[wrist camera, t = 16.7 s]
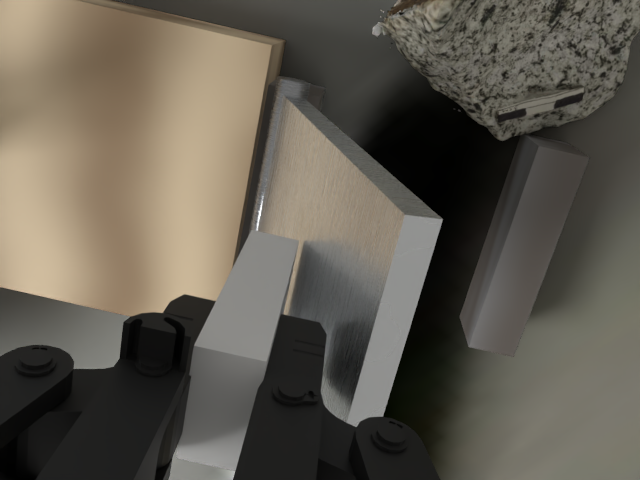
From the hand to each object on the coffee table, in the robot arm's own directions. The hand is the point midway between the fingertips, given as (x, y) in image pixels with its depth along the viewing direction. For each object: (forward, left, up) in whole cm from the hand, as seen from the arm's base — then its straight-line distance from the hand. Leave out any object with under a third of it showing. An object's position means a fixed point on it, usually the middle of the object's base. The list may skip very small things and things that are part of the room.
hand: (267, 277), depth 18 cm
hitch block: (-4, 0, -10) cm, 11 cm away
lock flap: (-1, 0, -6) cm, 6 cm away
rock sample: (+8, +9, -10) cm, 16 cm away
